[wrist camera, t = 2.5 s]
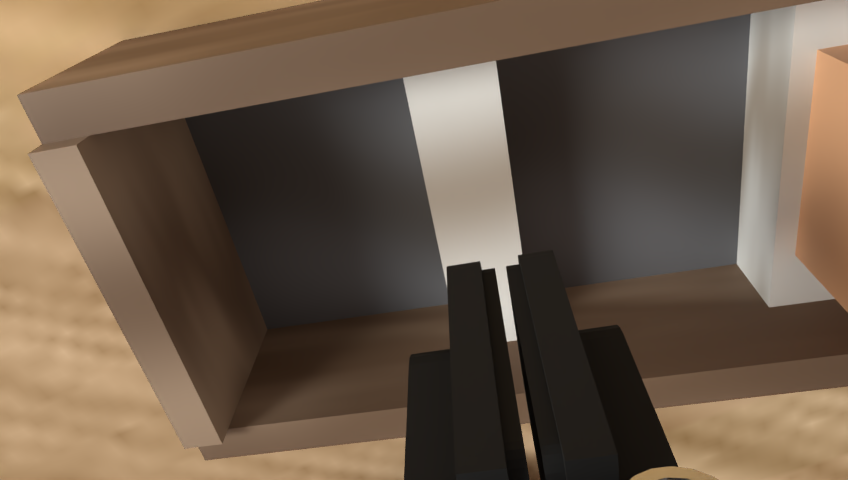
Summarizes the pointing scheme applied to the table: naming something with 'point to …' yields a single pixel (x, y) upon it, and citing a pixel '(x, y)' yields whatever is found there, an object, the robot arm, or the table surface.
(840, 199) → the block
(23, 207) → the table surface
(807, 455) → the table surface
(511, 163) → the trap box
